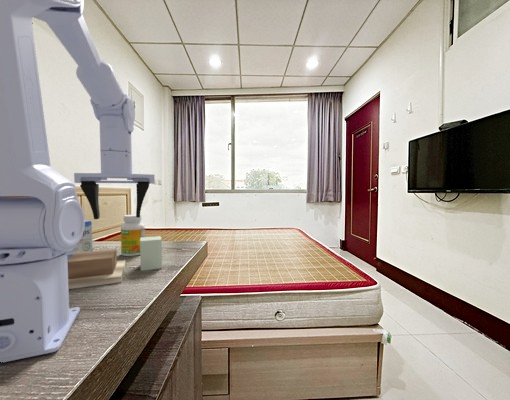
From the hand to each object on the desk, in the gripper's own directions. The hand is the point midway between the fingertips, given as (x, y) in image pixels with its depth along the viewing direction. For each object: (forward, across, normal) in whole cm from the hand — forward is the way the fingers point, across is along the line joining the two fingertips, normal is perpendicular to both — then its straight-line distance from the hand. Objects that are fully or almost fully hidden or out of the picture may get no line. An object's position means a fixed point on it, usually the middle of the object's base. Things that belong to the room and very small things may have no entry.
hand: (118, 217), depth 53 cm
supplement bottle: (+10, -2, -10) cm, 14 cm away
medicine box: (+10, +11, -10) cm, 18 cm away
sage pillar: (+10, -6, +3) cm, 12 cm away
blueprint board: (+10, +4, +5) cm, 12 cm away
